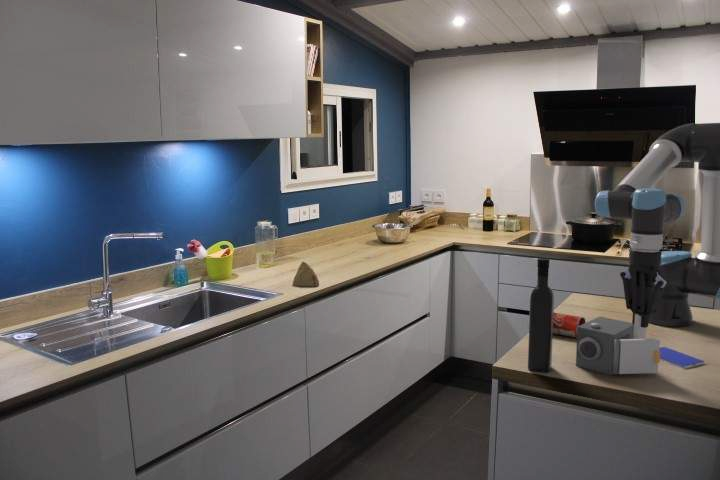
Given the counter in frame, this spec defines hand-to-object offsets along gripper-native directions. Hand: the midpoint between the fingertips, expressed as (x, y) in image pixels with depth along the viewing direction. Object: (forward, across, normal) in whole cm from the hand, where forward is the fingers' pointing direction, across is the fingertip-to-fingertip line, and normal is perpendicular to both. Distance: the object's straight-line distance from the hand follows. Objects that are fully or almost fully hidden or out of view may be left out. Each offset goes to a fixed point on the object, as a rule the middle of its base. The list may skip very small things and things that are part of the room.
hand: (639, 338), depth 162 cm
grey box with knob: (+9, -8, -3) cm, 13 cm away
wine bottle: (+10, -14, -21) cm, 27 cm away
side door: (+8, +2, -3) cm, 9 cm away
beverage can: (+9, -32, +5) cm, 34 cm away
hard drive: (+10, -2, +17) cm, 19 cm away
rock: (+10, -132, -41) cm, 138 cm away
